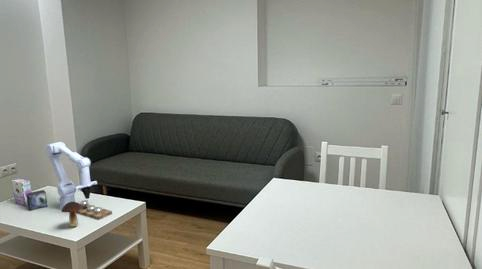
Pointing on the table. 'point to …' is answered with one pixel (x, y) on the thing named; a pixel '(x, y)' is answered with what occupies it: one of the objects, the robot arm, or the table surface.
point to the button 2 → (98, 210)
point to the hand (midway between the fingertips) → (87, 198)
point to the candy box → (21, 191)
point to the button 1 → (84, 203)
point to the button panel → (94, 215)
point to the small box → (36, 200)
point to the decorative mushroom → (72, 212)
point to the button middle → (91, 208)
